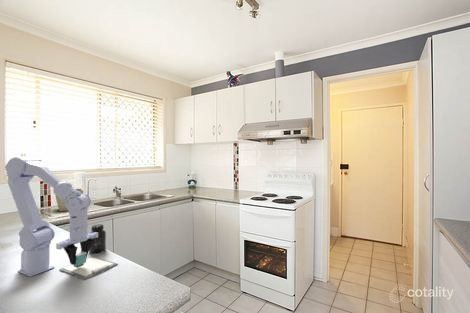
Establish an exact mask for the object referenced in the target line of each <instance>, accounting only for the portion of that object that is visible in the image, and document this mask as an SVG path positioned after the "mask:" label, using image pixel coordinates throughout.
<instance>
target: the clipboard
mask: <svg viewBox="0 0 470 313" xmlns="http://www.w3.org/2000/svg"><path fill="white" fill-rule="evenodd" d="M116 266H118V263H117V262H112V261H109V260H106V259H103V258H99V257H97V256H91V257H87V259H86V263H84V265H83V266H81V267H78V268H76V267H74V265H72V264H70V265H67V266H65V267H64V266H63V267H62V268H60V269H59V271H60V272H63V273H66V274H68V275H71V276H74V277H76V278H79V279H81V280H85V281H86V280H88V279H90V278H93V277H95V276H96V275H97V276H98V275H99V274H101V273H102V272H105V271H107V270H109V269H112V268H114V267H116Z"/></svg>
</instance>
